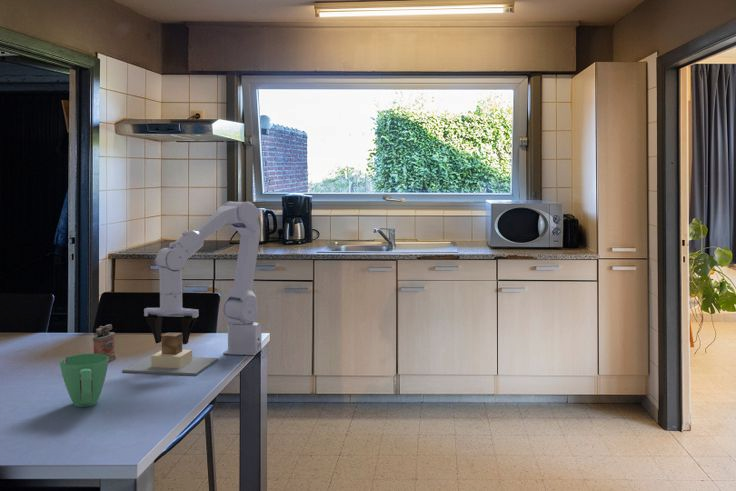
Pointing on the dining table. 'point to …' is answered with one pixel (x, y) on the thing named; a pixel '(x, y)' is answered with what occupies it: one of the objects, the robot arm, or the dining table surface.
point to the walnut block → (172, 343)
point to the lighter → (105, 342)
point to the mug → (84, 377)
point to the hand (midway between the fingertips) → (171, 343)
